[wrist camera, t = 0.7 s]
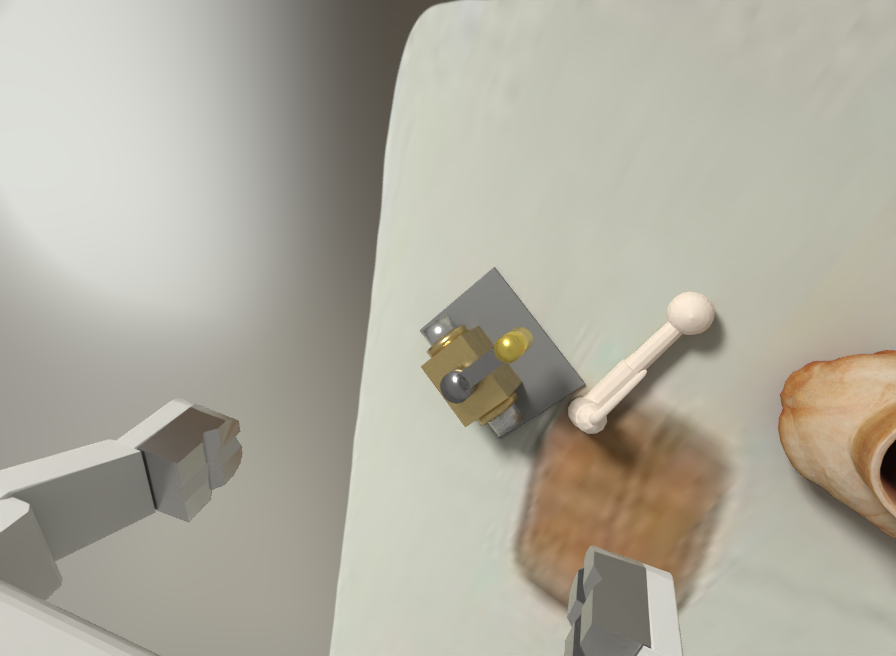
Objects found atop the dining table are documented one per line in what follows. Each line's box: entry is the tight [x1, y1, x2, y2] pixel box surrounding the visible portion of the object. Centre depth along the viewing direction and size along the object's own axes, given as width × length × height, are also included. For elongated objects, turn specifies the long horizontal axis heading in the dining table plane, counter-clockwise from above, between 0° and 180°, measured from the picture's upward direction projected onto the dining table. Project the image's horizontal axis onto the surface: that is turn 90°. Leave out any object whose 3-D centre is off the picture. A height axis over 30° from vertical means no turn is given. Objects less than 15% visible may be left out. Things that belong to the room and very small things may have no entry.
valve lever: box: [440, 327, 533, 404], centre depth 45 cm, size 11×3×6 cm, turn 130°
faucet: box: [568, 292, 715, 434], centre depth 46 cm, size 4×18×10 cm, turn 141°
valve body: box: [421, 314, 525, 436], centre depth 52 cm, size 14×6×6 cm, turn 40°
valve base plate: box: [420, 267, 585, 439], centre depth 54 cm, size 16×12×1 cm
